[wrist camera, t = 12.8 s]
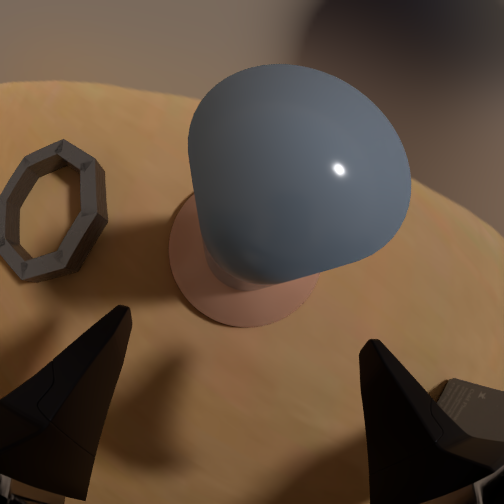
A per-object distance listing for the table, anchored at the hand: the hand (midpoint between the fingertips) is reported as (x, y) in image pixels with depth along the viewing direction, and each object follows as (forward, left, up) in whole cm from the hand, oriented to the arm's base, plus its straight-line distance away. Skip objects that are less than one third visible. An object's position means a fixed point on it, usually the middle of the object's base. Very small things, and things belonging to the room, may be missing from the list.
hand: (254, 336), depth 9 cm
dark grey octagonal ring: (-1, +16, -8) cm, 18 cm away
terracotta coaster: (+4, +2, -8) cm, 9 cm away
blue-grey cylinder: (+4, +2, -7) cm, 9 cm away
